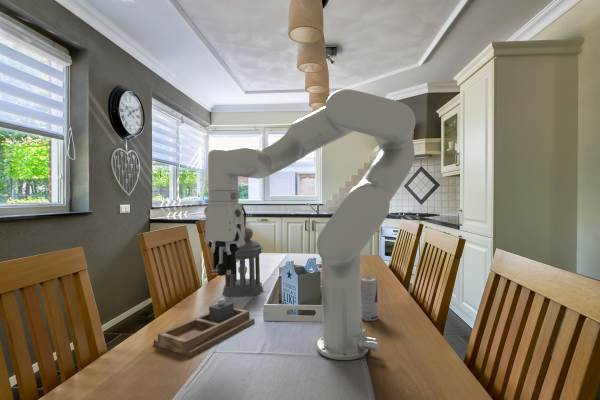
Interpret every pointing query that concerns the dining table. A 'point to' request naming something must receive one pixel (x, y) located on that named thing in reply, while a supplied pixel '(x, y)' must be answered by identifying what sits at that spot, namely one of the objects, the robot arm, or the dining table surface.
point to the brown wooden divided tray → (201, 333)
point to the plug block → (221, 311)
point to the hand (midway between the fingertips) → (224, 267)
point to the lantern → (245, 269)
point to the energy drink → (369, 299)
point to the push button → (223, 260)
